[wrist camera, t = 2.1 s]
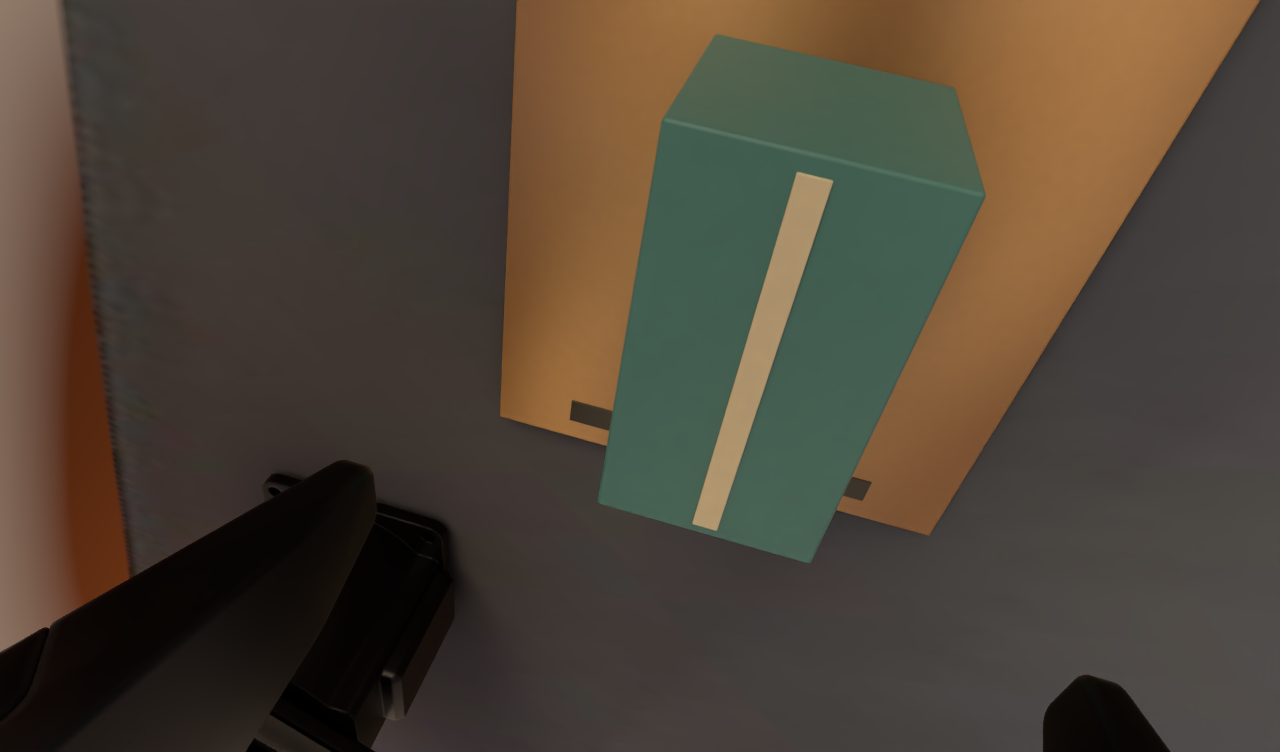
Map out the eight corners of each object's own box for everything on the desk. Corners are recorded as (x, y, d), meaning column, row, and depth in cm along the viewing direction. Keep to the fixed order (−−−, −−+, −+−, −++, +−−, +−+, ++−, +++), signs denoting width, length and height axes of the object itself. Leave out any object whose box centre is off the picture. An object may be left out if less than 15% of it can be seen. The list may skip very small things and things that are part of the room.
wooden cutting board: (505, 405, 21) (498, 418, 21) (534, -215, 13) (523, -215, 12) (928, 523, 20) (929, 538, 20) (1284, -64, 12) (1299, -59, 11)
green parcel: (821, 416, 18) (810, 568, 15) (647, 369, 19) (595, 506, 15) (957, 87, 13) (989, 196, 10) (714, 32, 14) (660, 118, 10)
